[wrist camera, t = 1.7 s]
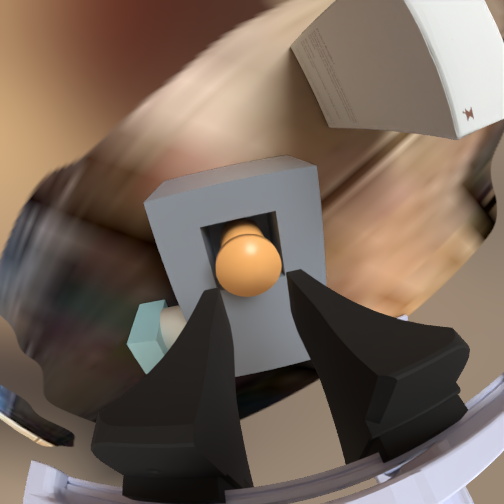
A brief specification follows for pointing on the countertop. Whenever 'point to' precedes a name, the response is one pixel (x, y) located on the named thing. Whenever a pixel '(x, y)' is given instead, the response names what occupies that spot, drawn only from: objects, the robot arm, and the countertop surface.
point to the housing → (208, 245)
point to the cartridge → (154, 332)
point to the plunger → (246, 259)
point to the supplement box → (406, 66)
